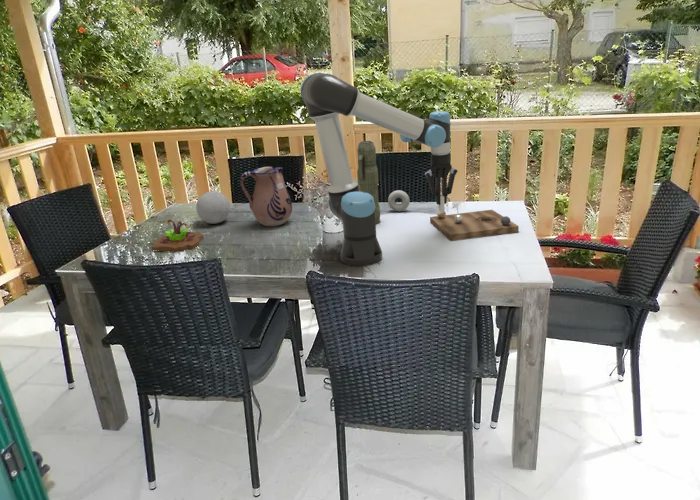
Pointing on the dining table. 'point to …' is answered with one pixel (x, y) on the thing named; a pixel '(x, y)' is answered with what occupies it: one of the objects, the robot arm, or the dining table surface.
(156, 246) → the plant
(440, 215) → the beech ball
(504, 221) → the black rubber ball
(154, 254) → the dining table surface
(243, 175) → the ceramic pitcher
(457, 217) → the steel ball
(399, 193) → the donut
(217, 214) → the decorative ball
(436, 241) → the dining table surface
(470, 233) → the walnut plate
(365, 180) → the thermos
